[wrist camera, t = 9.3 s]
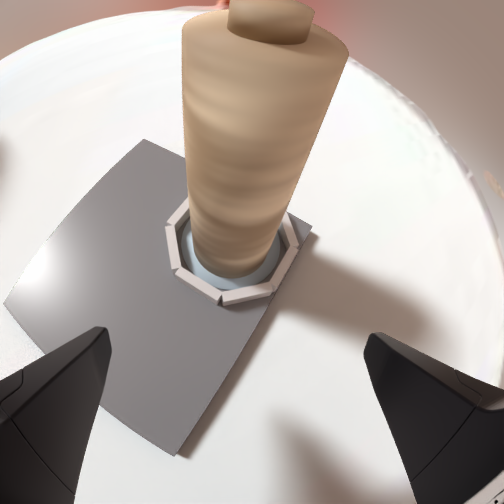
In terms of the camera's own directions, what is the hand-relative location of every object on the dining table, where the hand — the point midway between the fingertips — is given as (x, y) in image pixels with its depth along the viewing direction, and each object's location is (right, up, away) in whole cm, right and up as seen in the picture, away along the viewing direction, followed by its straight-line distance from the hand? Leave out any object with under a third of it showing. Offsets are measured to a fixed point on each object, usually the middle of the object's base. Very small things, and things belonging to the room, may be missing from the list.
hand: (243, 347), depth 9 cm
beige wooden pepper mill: (-1, +4, +10) cm, 11 cm away
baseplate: (-7, +2, +10) cm, 12 cm away
